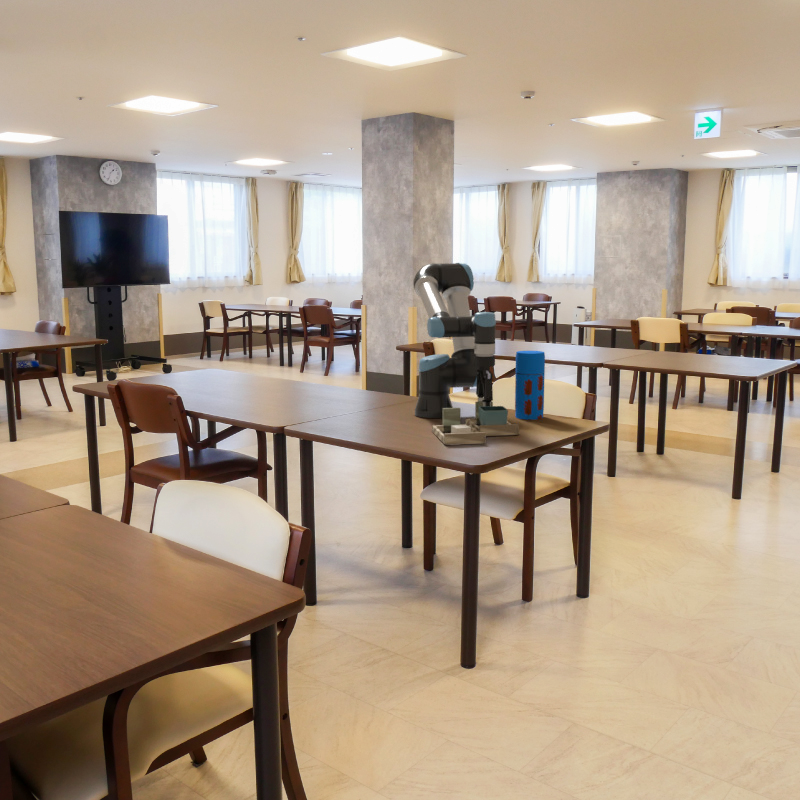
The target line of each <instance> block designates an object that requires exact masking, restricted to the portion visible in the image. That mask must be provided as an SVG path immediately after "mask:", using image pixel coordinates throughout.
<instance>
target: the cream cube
mask: <svg viewBox="0 0 800 800" xmlns="http://www.w3.org/2000/svg"><path fill="white" fill-rule="evenodd" d="M450 433H471V427H469V426H467V425H453V426H451V431H450Z"/></svg>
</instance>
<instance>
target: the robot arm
mask: <svg viewBox="0 0 800 800" xmlns="http://www.w3.org/2000/svg"><path fill="white" fill-rule="evenodd" d="M474 283H475V282H474V273H473V270H472V268H471V266H470V265H468V264H467V263H461V262H456V263H452V262H451V263H446V262H445V263H444V262H443V263H436V262H433V263H428V264H426V265H424V266H422V267H421V268H420V269H419V270H418V271H417V272H416V274H415V275H414V278H413V288H414V289H413V290H414V292H415V294H416V295H418V297H420V299H421V303H422V304H423V306H424V309H425V311H426V313H427V317H428V319H427V323H426V328H427V334H428V336H429V337H430V338H438V339H442V338H452V345H453V352H452V354H451V357H450V355H449V354H448V353H441V354H440V353H439V354H432V355H426V356H423V357H421V358H420V360H419V362H418V398H417V401H416V404H415V408H414V416H416V417H419V418H427V419H443V408H454V407H453V404H452V400H451V398H450V389H451V388H453V389H454V388H455V389H456V388H475V387H476V388H475V389H476V390H475V392H476V393H475V395H476V397H477V402H483V406H491V401H492V402H493V401H494V399H493V398H494V397H493V396H494V395H493V394H494V393H493V375H494V374H493V373H492V372H491V370H490V368H492V367H495V365H496V356H495V354H496V324H497V321H496V314H495V313H494V312H490V311H481V312H480V311H479V312H476V313H474V315H471V310H470V304H469V296H470V295H471V292H472V291H473V289H474ZM444 300H445V301H446V304H447V307H446V304H445V302H444Z"/></svg>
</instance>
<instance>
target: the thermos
mask: <svg viewBox="0 0 800 800" xmlns="http://www.w3.org/2000/svg"><path fill="white" fill-rule="evenodd" d="M545 361H546V355H545V351H542V350H541V351H540V350H519V351H516V354H515V386H514V387H515V390H514V391H515V392H514V393H515V396H514V412H515V414H514V415H515V418H516V419H520V420H529V421H530V420H533V421H534V420H541V419H543V418H544V412H545V411H544V410H545V409H544V408H545V372H546V371H545V369H546V365H545V364H546V362H545Z"/></svg>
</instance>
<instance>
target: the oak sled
mask: <svg viewBox="0 0 800 800" xmlns="http://www.w3.org/2000/svg"><path fill="white" fill-rule="evenodd" d="M474 403H475V409H474V410H475V412H474V414H475V417H465V418H464V420H465V421H464V424H470V425H471V426H473V427H474V428H475V429H476V430H477V431H479V432H485V433H486V437H494V436H515V435H517V436H519V434H520V432H519V431H520V429H519V428H520V424H519V423H511V422H509V421H508V420H507V423H506V425H481V423H480V418H479V408H478V407H480V406H483V402H478V401H475V402H474ZM491 406H494V402H493V401H491Z"/></svg>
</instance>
